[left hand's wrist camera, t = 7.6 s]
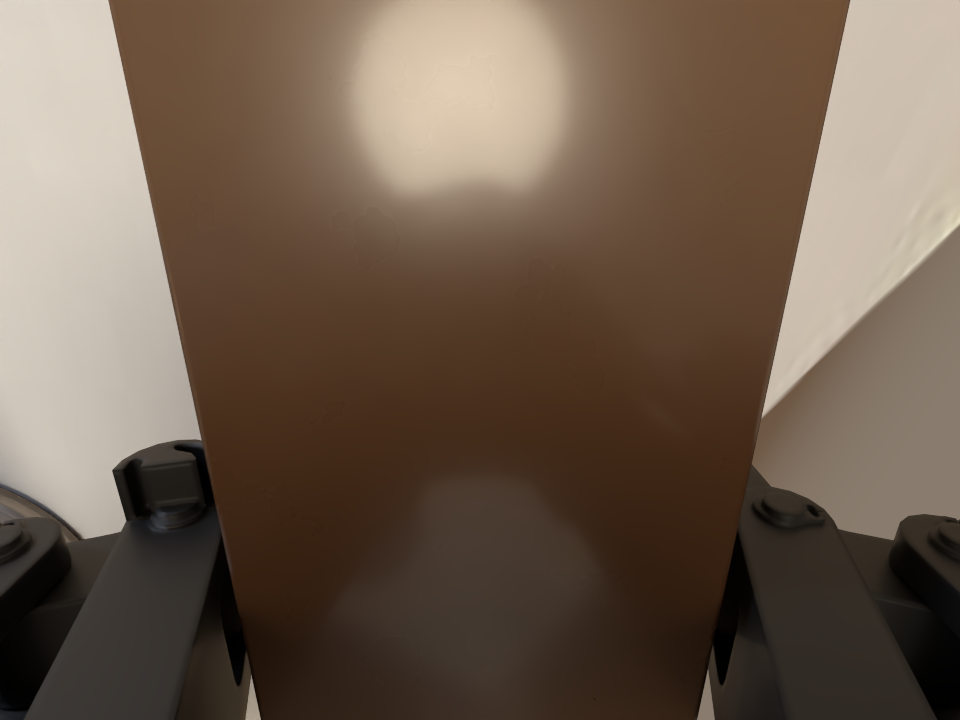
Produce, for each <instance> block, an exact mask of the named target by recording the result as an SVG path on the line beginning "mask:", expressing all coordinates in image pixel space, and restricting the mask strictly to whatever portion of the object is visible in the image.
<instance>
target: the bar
mask: <svg viewBox="0 0 960 720" xmlns="http://www.w3.org/2000/svg"><path fill="white" fill-rule="evenodd" d="M849 3H850V0H109V5H110V10H111V14H112V19H113V24H114V28H115V33H116V38H117V43H118V47H119V52H120V57H121V61H122V66H123V71H124V76H125V80H126V85H127V90H128V94H129V99H130V104H131V109H132V113H133V118H134V123H135V127H136V132H137V137H138V142H139V146H140V151H141V156H142V160H143V165H144V170H145V175H146V179H147V184H148V189H149V193H150V198H151V203H152V208H153V212H154V217H155V222H156V227H157V231H158V236H159V241H160V245H161V250H162V255H163V260H164V264H165V269H166V274H167V278H168V283H169V288H170V293H171V297H172V302H173V307H174V311H175V316H176V321H177V326H178V330H179V335H180V340H181V344H182V349H183V354H184V359H185V363H186V368H187V373H188V377H189V382H190V387H191V392H192V396H193V401H194V406H195V410H196V415H197V420H198V425H199V429H200V434H201V439H202V443H203V448H204V453H205V458H206V462H207V467H208V472H209V477H210V481H211V486H212V491H213V495H214V500H215V505H216V510H217V514H218V519H219V524H220V528H221V533H222V538H223V543H224V547H225V552H226V557H227V561H228V566H229V571H230V576H231V580H232V585H233V590H234V594H235V599H236V604H237V609H238V613H239V618H240V623H241V627H242V632H243V637H244V642H245V646H246V651H247V656H248V660H249V665H250V670H251V675H252V679H253V684H254V689H255V694H256V698H257V703H258V708H259V712H260V717H261V720H697V717H698V712H699V708H700V703H701V698H702V694H703V689H704V684H705V680H706V675H707V670H708V666H709V661H710V656H711V651H712V647H713V642H714V637H715V633H716V628H717V623H718V619H719V614H720V609H721V605H722V600H723V595H724V590H725V586H726V581H727V576H728V572H729V567H730V562H731V558H732V553H733V548H734V543H735V539H736V534H737V529H738V525H739V520H740V515H741V511H742V506H743V501H744V497H745V492H746V487H747V482H748V478H749V473H750V468H751V464H752V459H753V454H754V449H755V445H756V440H757V435H758V431H759V426H760V421H761V417H762V412H763V407H764V403H765V398H766V393H767V388H768V384H769V379H770V374H771V370H772V365H773V360H774V356H775V351H776V346H777V342H778V337H779V332H780V327H781V323H782V318H783V313H784V309H785V304H786V299H787V295H788V290H789V285H790V280H791V276H792V271H793V266H794V262H795V257H796V252H797V248H798V243H799V238H800V233H801V229H802V224H803V219H804V215H805V210H806V205H807V201H808V196H809V191H810V187H811V182H812V177H813V172H814V168H815V163H816V158H817V154H818V149H819V144H820V140H821V135H822V130H823V125H824V121H825V116H826V111H827V107H828V102H829V97H830V93H831V88H832V83H833V79H834V74H835V69H836V64H837V60H838V55H839V50H840V46H841V41H842V36H843V32H844V27H845V22H846V17H847V13H848V8H849Z"/></svg>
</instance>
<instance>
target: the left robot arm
mask: <svg viewBox="0 0 960 720" xmlns="http://www.w3.org/2000/svg"><path fill="white" fill-rule="evenodd" d="M112 471H113V475H114V478H115V482H116V485H117V489H118V492H119V496H120V499H121V503H122V507H123V510H124V514H125V517H126V523H125V525H124V527H123V529H122V531H121V532H118V533H114V534H110V535H105V536H100V537H95V538H90V539H84V540H78V539H77V538H76V537H75V536H74V535H73V534H72V533H71V532H70V531H69V530H68V529H67V528H66V527H65V526H64V525H62V524H61V523H60V522H59V521H58V520H57V519H55V518H54V517H53V516H51V515H50V514H48V513H47V512H46V511H44V510H43V509H41V508H40V507H38V506H36V505H35V504H33V503H32V502H30V501H28V500H26V499H24V498H22V497H20V496H19V495H16V494H14V493H12V492H10V491H8V490H5V489H3V488H0V720H245V717H246V710H247V702H248V694H249V687H250V679H251V670H250V665H249V660H248V656H247V651H246V646H245V642H244V637H243V632H242V627H241V623H240V618H239V613H238V609H237V604H236V599H235V594H234V590H233V585H232V580H231V576H230V571H229V566H228V561H227V557H226V552H225V547H224V543H223V538H222V533H221V528H220V524H219V519H218V514H217V510H216V505H215V500H214V495H213V491H212V486H211V481H210V477H209V472H208V467H207V462H206V458H205V453H204V448H203V443H202V441H200V440H176V441H171V442H166V443H161V444H157V445H154V446H151V447H149V448H146V449H143V450H140V451H138V452H136V453H134V454H133V455H131V456H129V457H127V458H126V459H124V460H122V461H121V462H120V463H119V464H118V465H117V466H116V467H115V468H114V469H113V470H112ZM708 670H709V678H710V685H711V693H712V701H713V708H714V716H715V720H960V520H959V521H958V520H956V519H955V518H951V517H946V516H935V515H927V514H922V515H913V516H908V517H907V518H905V519H904V520H903V521H901V522H900V524H899V527H898V530H897V533H896V536H895V539H894V540H889V539H883V538H878V537H873V536H868V535H863V534H858V533H853V532H847V531H843V530H840V529H838V528H837V526H836V524H835V522H834V521H833V519H832V518H831V517H830V516H829V514H828V513H827V512H826V511H825V510H824V509H823V508H822V507H820V506H819V505H817V504H816V503H814V502H813V501H811V500H810V499H808V498H805V497H803V496H801V495H798V494H796V493H794V492H791V491H788V490H783V489H779V488H774V487H771V486H770V485H769V484H768V483H767V481H766V480H765V479H764V478H763V477H762V476H761V474H760V473H759V472H758V471H757V470H756V469H755V468H754V466H753V465H752V464H751V468H750V473H749V478H748V482H747V487H746V492H745V497H744V501H743V506H742V511H741V515H740V520H739V525H738V529H737V534H736V539H735V543H734V548H733V553H732V558H731V562H730V567H729V572H728V576H727V581H726V586H725V590H724V595H723V600H722V605H721V609H720V614H719V619H718V623H717V628H716V633H715V637H714V642H713V647H712V651H711V656H710V661H709V666H708Z"/></svg>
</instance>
